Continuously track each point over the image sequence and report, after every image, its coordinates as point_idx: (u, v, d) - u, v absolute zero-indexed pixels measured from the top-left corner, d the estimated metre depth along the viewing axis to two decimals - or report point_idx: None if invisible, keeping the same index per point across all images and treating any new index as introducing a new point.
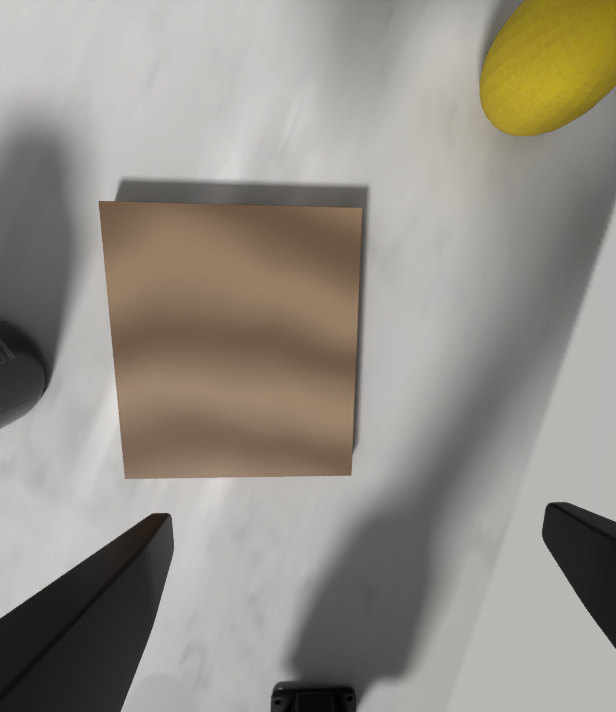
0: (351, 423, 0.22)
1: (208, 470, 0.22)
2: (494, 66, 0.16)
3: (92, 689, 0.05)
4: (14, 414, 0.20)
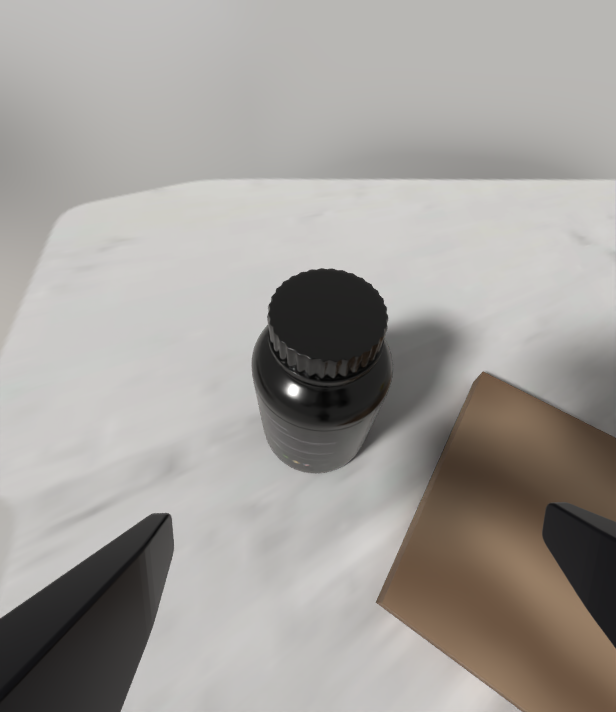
0: None
1: (485, 666, 0.16)
2: None
3: (92, 689, 0.05)
4: (337, 461, 0.20)
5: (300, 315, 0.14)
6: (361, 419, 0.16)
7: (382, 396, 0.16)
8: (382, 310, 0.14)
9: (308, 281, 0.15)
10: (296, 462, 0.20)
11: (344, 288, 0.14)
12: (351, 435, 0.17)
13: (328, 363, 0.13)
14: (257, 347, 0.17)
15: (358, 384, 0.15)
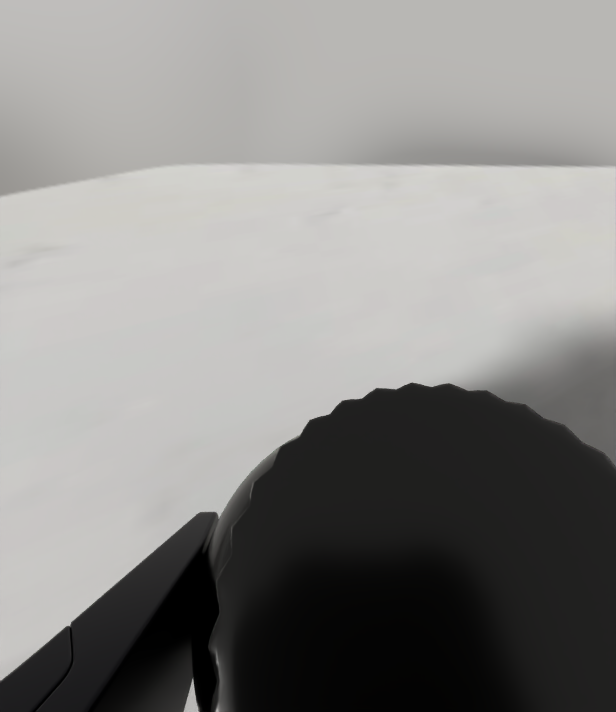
0: None
1: None
2: None
3: (165, 685, 0.05)
4: None
5: (358, 656, 0.03)
6: None
7: None
8: None
9: (374, 446, 0.04)
10: None
11: (516, 480, 0.04)
12: None
13: None
14: (207, 580, 0.06)
15: None
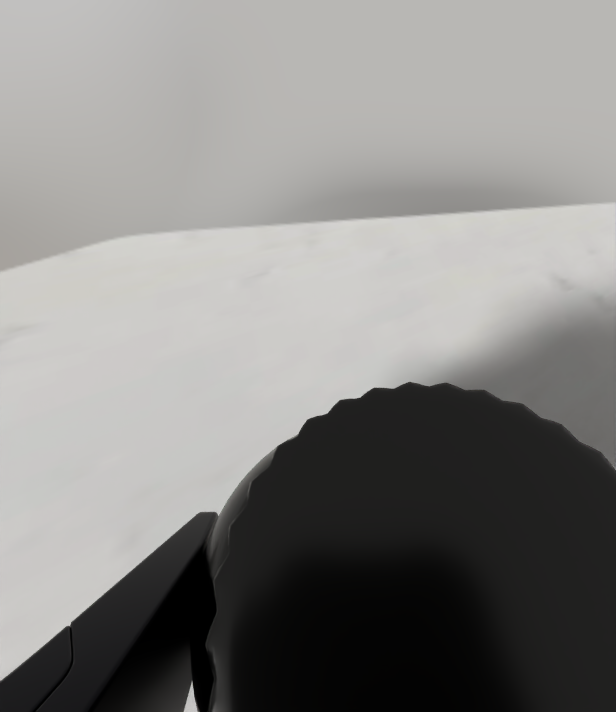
0: None
1: None
2: None
3: (165, 685, 0.05)
4: None
5: (354, 654, 0.03)
6: None
7: None
8: None
9: (371, 445, 0.04)
10: None
11: (512, 479, 0.04)
12: None
13: None
14: (206, 579, 0.06)
15: None
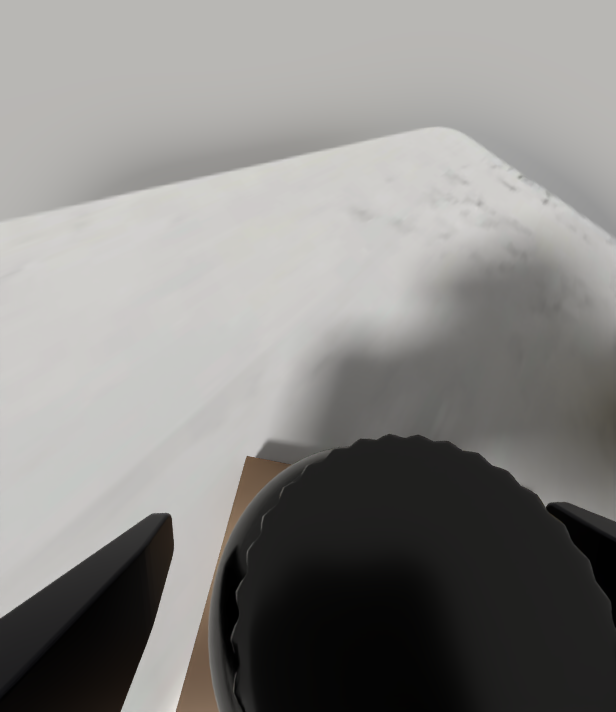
0: None
1: None
2: None
3: (92, 689, 0.05)
4: None
5: (339, 648, 0.04)
6: None
7: None
8: (601, 617, 0.04)
9: (357, 487, 0.05)
10: None
11: (465, 516, 0.05)
12: None
13: None
14: (221, 587, 0.07)
15: None
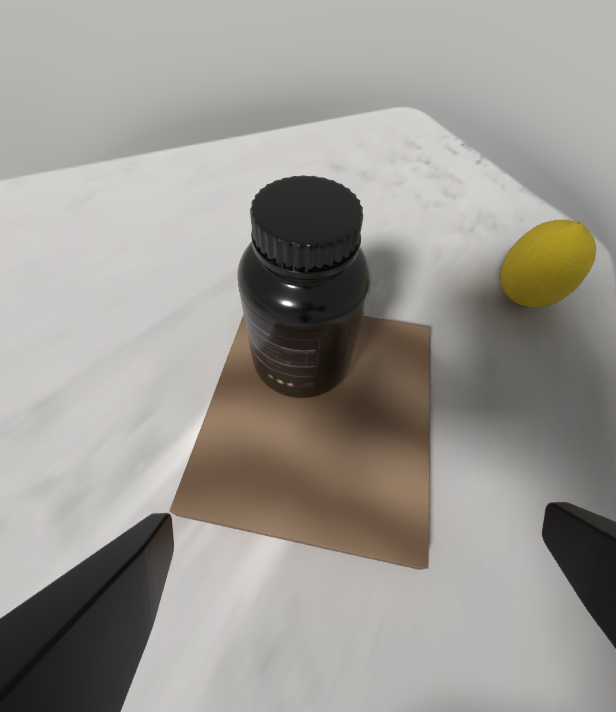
0: (426, 497, 0.20)
1: (262, 521, 0.19)
2: (509, 262, 0.28)
3: (92, 689, 0.05)
4: (319, 382, 0.21)
5: (280, 210, 0.15)
6: (338, 321, 0.17)
7: (358, 300, 0.17)
8: (357, 208, 0.15)
9: (290, 184, 0.16)
10: (280, 382, 0.21)
11: (323, 191, 0.15)
12: (330, 343, 0.18)
13: (304, 248, 0.14)
14: (243, 255, 0.18)
15: (335, 285, 0.16)
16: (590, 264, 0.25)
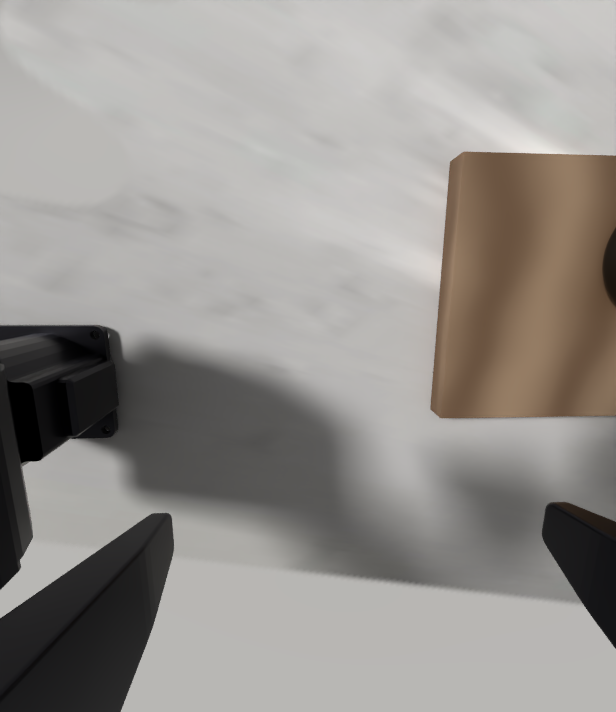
0: (499, 415, 0.21)
1: (463, 257, 0.19)
2: None
3: (92, 689, 0.05)
4: None
5: None
6: None
7: None
8: None
9: None
10: None
11: None
12: None
13: None
14: None
15: None
16: None
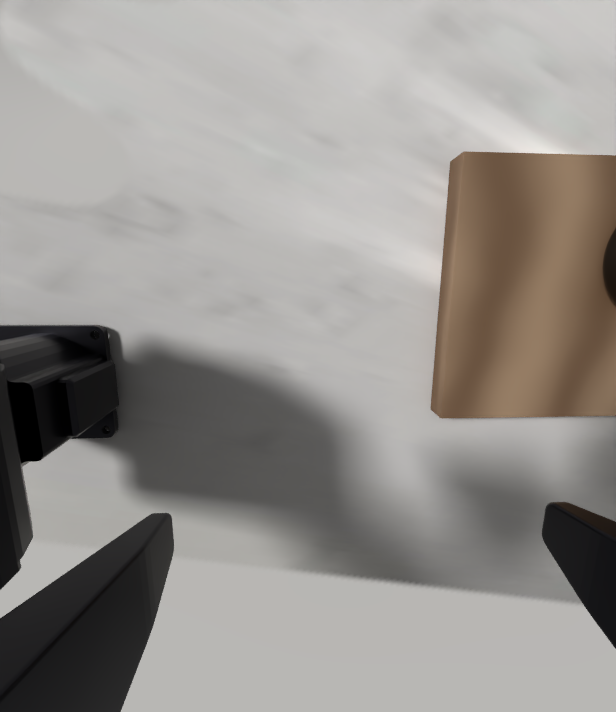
0: (500, 415, 0.21)
1: (463, 257, 0.19)
2: None
3: (92, 689, 0.05)
4: None
5: None
6: None
7: None
8: None
9: None
10: None
11: None
12: None
13: None
14: None
15: None
16: None
